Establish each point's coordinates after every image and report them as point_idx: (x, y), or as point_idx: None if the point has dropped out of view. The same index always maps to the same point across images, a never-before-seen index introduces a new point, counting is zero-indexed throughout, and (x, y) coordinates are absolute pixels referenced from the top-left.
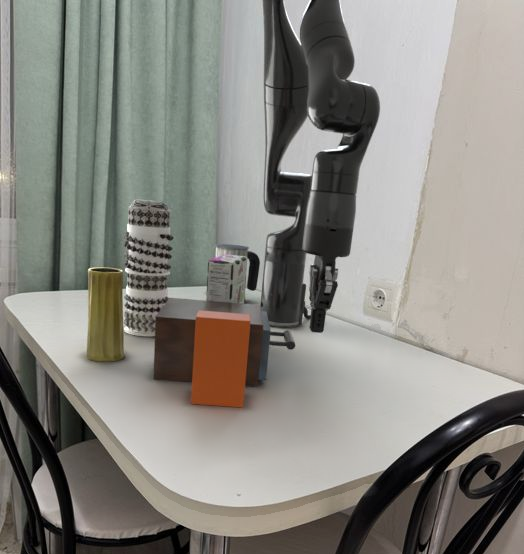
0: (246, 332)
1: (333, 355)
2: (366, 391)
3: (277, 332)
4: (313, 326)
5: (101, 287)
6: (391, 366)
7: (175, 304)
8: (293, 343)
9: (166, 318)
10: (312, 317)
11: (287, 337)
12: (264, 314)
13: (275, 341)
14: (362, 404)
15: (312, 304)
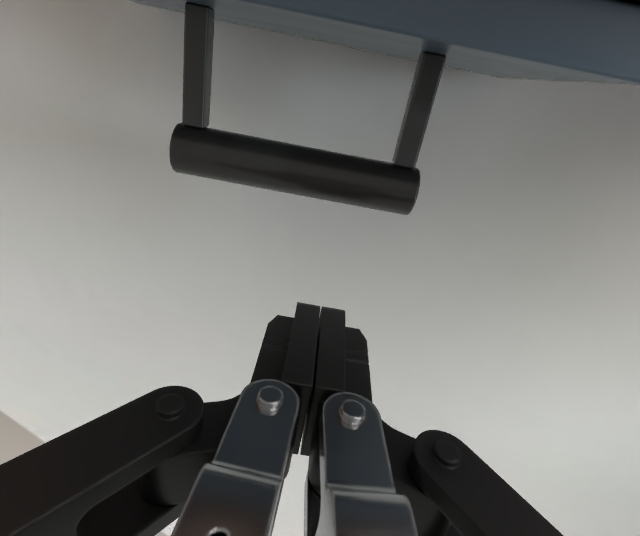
0: None
1: (503, 373)
2: (169, 345)
3: (412, 131)
4: (282, 324)
5: None
6: None
7: None
8: (171, 162)
9: None
10: (289, 349)
11: (263, 155)
12: (531, 30)
13: (200, 59)
14: (64, 299)
15: (265, 405)
